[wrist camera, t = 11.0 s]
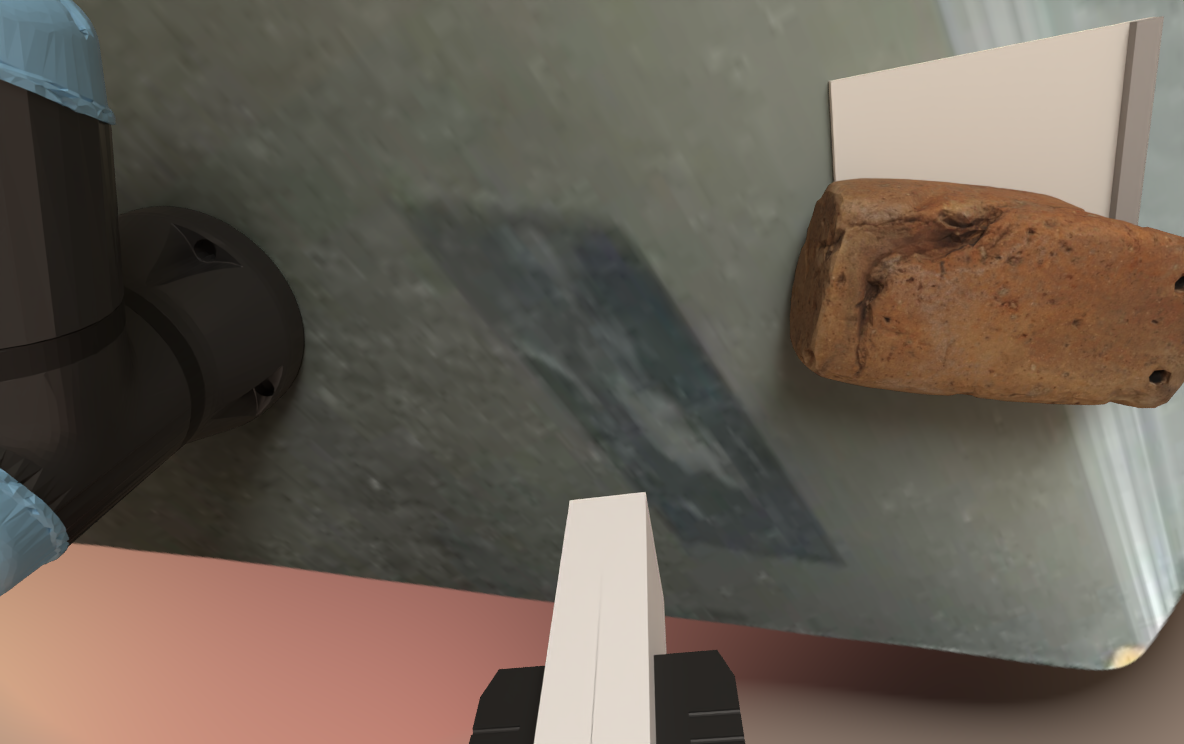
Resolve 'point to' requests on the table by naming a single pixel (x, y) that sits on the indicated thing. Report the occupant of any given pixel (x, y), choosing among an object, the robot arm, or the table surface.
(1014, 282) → the raisin bread loaf
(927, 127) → the mat
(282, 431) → the table surface
